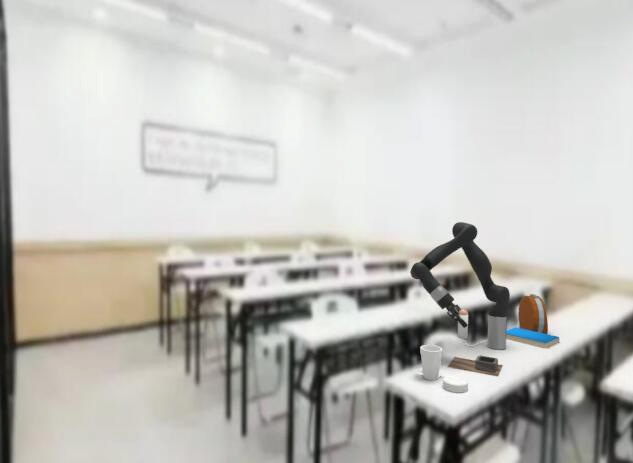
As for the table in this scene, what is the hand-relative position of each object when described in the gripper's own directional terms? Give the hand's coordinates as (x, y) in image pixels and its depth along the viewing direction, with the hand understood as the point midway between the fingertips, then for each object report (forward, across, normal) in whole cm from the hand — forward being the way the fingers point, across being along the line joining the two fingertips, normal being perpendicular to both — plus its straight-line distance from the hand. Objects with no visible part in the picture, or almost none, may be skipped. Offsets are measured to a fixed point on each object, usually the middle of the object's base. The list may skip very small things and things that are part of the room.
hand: (467, 325), depth 209 cm
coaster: (+15, -27, +14) cm, 34 cm away
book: (+31, +62, -1) cm, 69 cm away
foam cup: (+6, -21, +22) cm, 31 cm away
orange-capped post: (+3, 0, +6) cm, 6 cm away
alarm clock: (+31, +83, -2) cm, 88 cm away
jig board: (+17, 0, +11) cm, 20 cm away
